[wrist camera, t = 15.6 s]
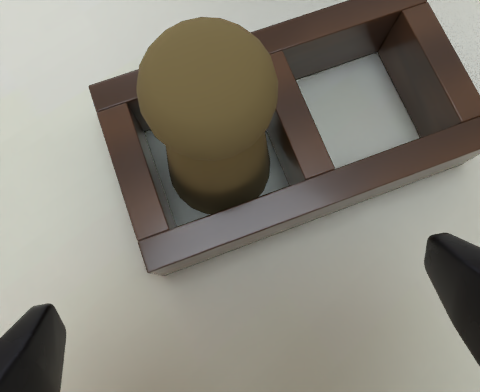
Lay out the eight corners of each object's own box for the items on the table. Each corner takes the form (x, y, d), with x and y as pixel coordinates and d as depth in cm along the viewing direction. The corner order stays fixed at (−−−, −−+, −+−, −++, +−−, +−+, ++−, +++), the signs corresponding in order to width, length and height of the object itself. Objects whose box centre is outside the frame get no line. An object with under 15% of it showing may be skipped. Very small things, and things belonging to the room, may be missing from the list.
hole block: (462, 164, 24) (505, 140, 20) (162, 276, 23) (147, 273, 19) (389, 24, 26) (415, -23, 22) (111, 117, 25) (87, 85, 21)
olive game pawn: (213, 236, 23) (192, 190, 12) (148, 160, 24) (76, 57, 13) (291, 170, 24) (333, 73, 13) (225, 99, 25) (215, -43, 14)
